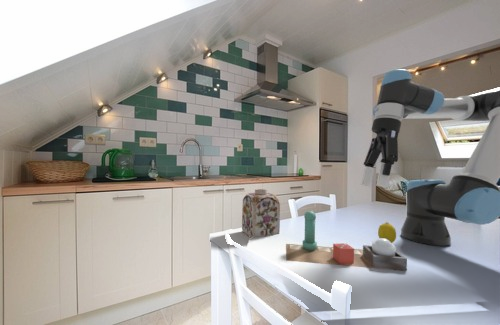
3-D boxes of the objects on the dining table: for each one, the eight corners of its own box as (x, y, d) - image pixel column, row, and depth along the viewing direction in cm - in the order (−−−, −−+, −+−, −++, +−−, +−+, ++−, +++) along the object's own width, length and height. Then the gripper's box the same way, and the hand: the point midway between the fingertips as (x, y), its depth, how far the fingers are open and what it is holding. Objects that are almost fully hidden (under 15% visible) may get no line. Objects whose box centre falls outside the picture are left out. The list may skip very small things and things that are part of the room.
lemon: (399, 248, 75) (399, 225, 75) (381, 246, 76) (381, 223, 76) (391, 242, 80) (392, 221, 80) (375, 241, 81) (375, 219, 81)
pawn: (315, 246, 72) (316, 210, 72) (317, 251, 67) (318, 212, 68) (301, 245, 72) (302, 209, 73) (303, 250, 68) (303, 212, 68)
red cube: (345, 256, 64) (346, 243, 64) (353, 263, 60) (354, 248, 60) (332, 257, 64) (333, 243, 64) (340, 263, 60) (340, 248, 60)
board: (384, 254, 69) (384, 241, 69) (407, 275, 56) (408, 259, 56) (285, 247, 74) (286, 234, 74) (286, 264, 61) (286, 249, 61)
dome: (389, 251, 63) (389, 236, 63) (399, 260, 58) (399, 242, 58) (368, 250, 64) (369, 234, 64) (376, 258, 59) (377, 241, 59)
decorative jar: (252, 240, 79) (253, 191, 79) (241, 231, 90) (241, 188, 90) (280, 236, 84) (281, 190, 84) (266, 228, 95) (267, 187, 95)
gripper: (362, 127, 81) (350, 182, 80) (391, 104, 57) (374, 183, 56) (383, 131, 79) (371, 187, 79) (424, 109, 55) (406, 191, 54)
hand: (373, 186), depth 67 cm, fingers open, 13 cm apart
